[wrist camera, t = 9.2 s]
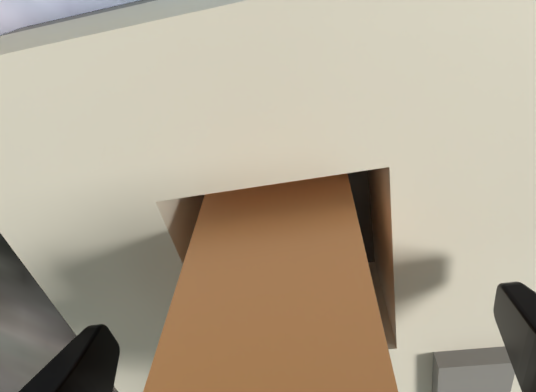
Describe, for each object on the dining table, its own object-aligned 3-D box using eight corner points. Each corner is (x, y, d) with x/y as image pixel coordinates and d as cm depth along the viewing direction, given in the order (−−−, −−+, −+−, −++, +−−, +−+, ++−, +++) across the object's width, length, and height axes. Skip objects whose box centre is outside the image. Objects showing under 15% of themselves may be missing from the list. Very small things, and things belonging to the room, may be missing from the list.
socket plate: (521, -88, 9) (711, -97, 5) (474, 295, 16) (538, 421, 12) (21, 28, 11) (-138, 89, 7) (174, 324, 18) (140, 442, 14)
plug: (337, 130, 11) (403, 416, 5) (349, 247, 14) (405, 544, 7) (218, 148, 12) (130, 431, 5) (251, 258, 14) (219, 545, 8)
